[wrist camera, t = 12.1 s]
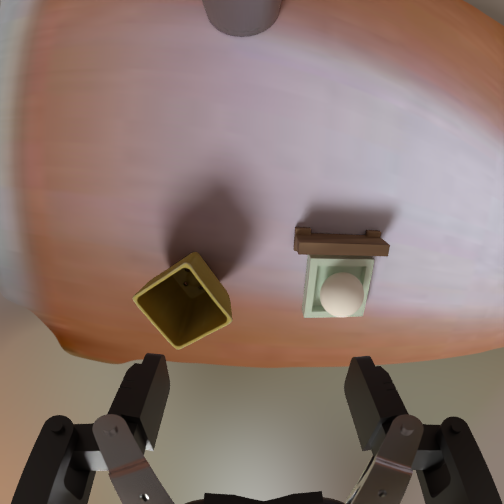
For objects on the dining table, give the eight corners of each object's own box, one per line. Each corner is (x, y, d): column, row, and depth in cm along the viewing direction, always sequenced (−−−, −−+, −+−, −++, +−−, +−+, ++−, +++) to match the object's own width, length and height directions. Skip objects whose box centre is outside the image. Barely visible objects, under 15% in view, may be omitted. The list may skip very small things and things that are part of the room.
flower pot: (151, 267, 41) (130, 298, 32) (200, 235, 39) (186, 261, 31) (189, 313, 43) (176, 351, 35) (237, 285, 42) (234, 321, 33)
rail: (295, 227, 39) (299, 236, 35) (378, 230, 39) (390, 239, 35) (293, 248, 40) (297, 260, 36) (375, 250, 40) (386, 261, 36)
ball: (318, 264, 40) (328, 285, 34) (359, 265, 40) (374, 284, 34) (313, 302, 42) (321, 326, 37) (352, 302, 42) (365, 325, 37)
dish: (307, 252, 40) (310, 258, 38) (368, 254, 40) (374, 259, 38) (301, 309, 43) (303, 317, 41) (358, 308, 43) (362, 316, 41)
